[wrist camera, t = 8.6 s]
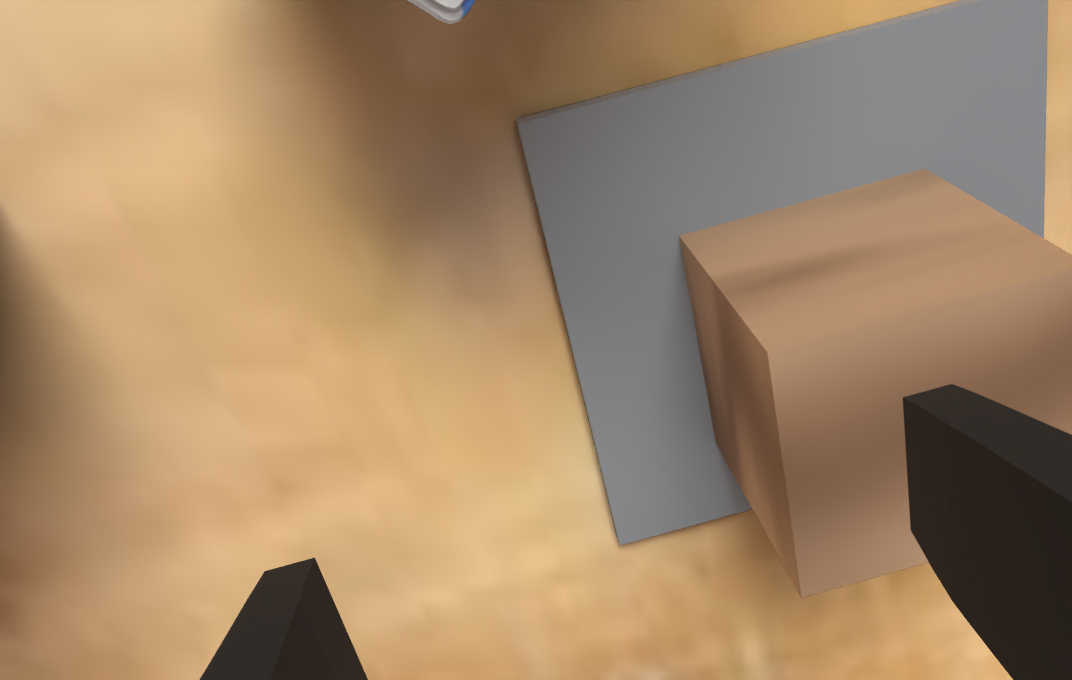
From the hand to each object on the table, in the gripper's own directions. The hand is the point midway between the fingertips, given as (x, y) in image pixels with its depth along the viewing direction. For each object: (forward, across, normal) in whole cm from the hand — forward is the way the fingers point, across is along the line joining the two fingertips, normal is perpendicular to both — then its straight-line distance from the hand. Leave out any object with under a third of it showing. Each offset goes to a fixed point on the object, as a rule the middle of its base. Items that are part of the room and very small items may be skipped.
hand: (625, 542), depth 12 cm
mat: (+10, -6, +3) cm, 12 cm away
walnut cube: (+10, -6, +4) cm, 12 cm away
